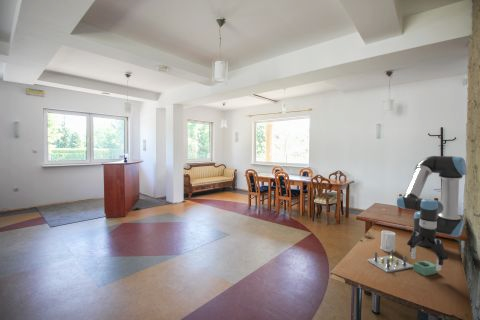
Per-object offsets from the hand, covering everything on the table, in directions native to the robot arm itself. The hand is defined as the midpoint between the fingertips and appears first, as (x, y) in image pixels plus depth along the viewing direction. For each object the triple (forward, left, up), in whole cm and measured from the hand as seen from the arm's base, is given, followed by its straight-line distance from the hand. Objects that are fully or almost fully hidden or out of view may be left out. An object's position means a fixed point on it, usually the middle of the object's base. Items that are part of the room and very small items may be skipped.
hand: (425, 264), depth 132 cm
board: (0, 0, -5) cm, 5 cm away
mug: (-3, -27, -5) cm, 28 cm away
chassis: (+12, -12, -4) cm, 17 cm away
